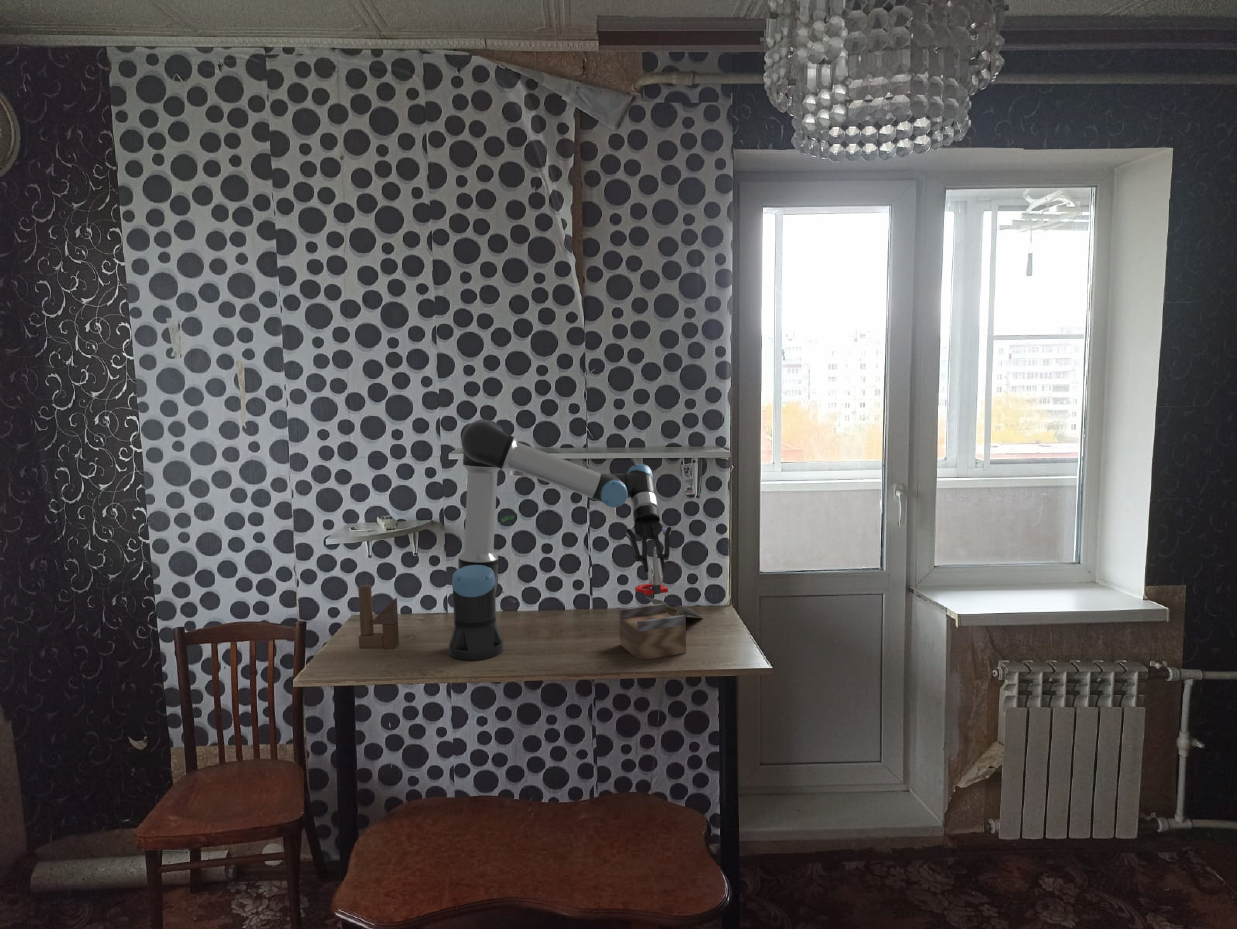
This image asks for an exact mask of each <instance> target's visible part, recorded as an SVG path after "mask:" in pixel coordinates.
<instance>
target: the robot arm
mask: <svg viewBox="0 0 1237 929" xmlns="http://www.w3.org/2000/svg"><path fill="white" fill-rule="evenodd" d="M461 435H462V437H461V448H462V450H463V455H462V456H463V457H462V466H463V467H464V468H465V469H466V470H467V478H466V479H467V481H466V482H467V483H466V485H467V486H466V500H465V502H466V504H465V505H466V506H465V526H464V529H465V530H464V547H463V548H464V550H463V551H462V552H461V553H460V554H459V555H458V566H457V569H456V570H455V571H454V573H453V574H452V581H451V587H452V599H453V602H452V603H453V604H452V605H453V623H454V624H453V625H454V626H453V629H452V634H451V638H450V640H449V644H448V655H449V656H450V657H452V658H453V659H456V660H457V659H458V660H462V661H463V660H464V661H465V660H466V661H476V660H477V661H478V660H484V659H485V660H486V659H489V658H493V657H495V656H499V655H500V654H501V653H502V652H503V651H504V640H503V636H502V635H501V633H500V632H501V631H500V629H499V626H498V624H497V608H496V603H497V602H496V593H497V587H498V583H499V573H498V572H499V570H498V569H499V556H498V555H497V554H496V553H495V551H494V548H495V547H494V546H495V531H496V530H495V527H496V510H497V508H496V507H497V506H496V505H497V488H498V486H497V485H498V473H499V471H500V470H504V469H507V468H508V469H511V470H513V471H517V472H519V473H522V474H525V475H528V476H530V477H533V478H535V479H538V480H541V481H544V482H546V483H549V484H553V485H555V486H557V487H559V488H563V489H565V490H568V491H570V492H571V491H572V492H574V493H576V494H579V495H582V496H584V497H588V498H590V499H591V500H595V501H598V502H600V503H603V504H604V505H605V506H607V507H610V508H619V507H622V505H624V504H625V503H626V502H627V499H631V508H632V516H633V522H634V523H633V524H634V525H633V527H632V528H626V532H625V536H626V538H628V540H629V544H630V546H631V549H632V552H633V557H634V560H635V561H636V562H641V564H642V569H643V572H644V573H647V578H648V584H653V569H652V564H651V559H650V558H648V540H651V541H652V544H653V546H654V547H656V555H657V568H658V578H659V584H663V580H664V575H663V572H665V568H666V566H665V561H668V560H669V559H670V553H671V552H670V536H671V532H672V527H671V526H668V527H665V526H663V523H662V522H661V517H660V512H659V506H658V505H659V504H658V500H657V494H656V493H657V492H656V486H655V479H654V476H653V472H652V469H651V468H650V466H648V465H647V464H642V463H638V464H636V465H632V466H630V467H629V469H628V471H627V472H625V473H600V472H598V471H594V470H592V469H590V468H588V467H585V466H582V465H579V464H576V463H574V462H571V461H569V460H566V459H563V458H561V457H558V456H555V455H552V454H550V453H549V452H548V453H547V452H545V451H542V450H539V449H538V448H534V447H531V446H529V445H527V444H524V443H520V442H518V440H517V439H516V437H515V436H513V435H510V434H507V433H505V432H504V430H503V427H502V426H501V425H500V424H498V423H497V422H496V421H494V420H490V419H485V418H484V419H478V420H475V421H473V422H471V423H470V425H468V426H467V427H466V428H465V430H464V431H463V433H462V434H461ZM661 532H662V535H663V536H664V538H663V540H664V541H663V545H664V546H663V547H664V548H663V549H662V546H661V542H660V539H659V536H660V535H661ZM635 534H636V535H638V537H640V538H641V553H640V549H639V546H638V542H637V540H636V536H635ZM654 547H653V548H654ZM663 552H664V553H663Z"/></svg>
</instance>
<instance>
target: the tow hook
mask: <svg viewBox="0 0 1237 929" xmlns="http://www.w3.org/2000/svg"><path fill="white" fill-rule="evenodd" d="M652 549H653V550H652V552H653V555H652V577H653V580H652V584H649V583H644V584H639V585H636V586H635V587H634V591H635V592H637V593H640V594H644V595H645V596H649V595H660V594H665V593H668V592H669V588H668V587H666V586H665V585H663V584H661V583H659V578H658V568H657V554H656V547H653V548H652ZM650 588H651V589H650Z"/></svg>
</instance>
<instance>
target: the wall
mask: <svg viewBox="0 0 1237 929" xmlns="http://www.w3.org/2000/svg"><path fill="white" fill-rule="evenodd" d="M645 598H646V599H647V600H648V601H649V602H651V603H652V605H654V604H661V603H665V604H666V613H668V614H669V615H671V616H679V615H685V616H686V618H687V617H688V616H692V617H694V618H697V619H699V618H700V619H702V620H703V619H704V618H703V617H702V616H701V615H700V614H698V613H697V612H696V611H695V610H694V609H692V608H690V607H687V606H683V605H680V604H676V605H675V607H673V606H670V605H668V604H667V603H666V602H665V601H663V600H661V599H657V598H653V597H648V596H645Z"/></svg>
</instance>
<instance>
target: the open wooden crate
mask: <svg viewBox="0 0 1237 929" xmlns="http://www.w3.org/2000/svg"><path fill="white" fill-rule="evenodd" d="M665 603H666V602H665ZM665 603H661V604H647V605H640V606H634V607H631V606H630V607H625V608H619V639H620V640H619V641H620V642H619V643H620V646H621V647H622V648H624V650H626V651H627V652H629V653H630V654H631V655H632V656H634V657H635V658H636V659H637V660H638V661H644V660H650V659H656V658H663V657H669V656H675V655H682V654H687V617H686V616H685V615H679V616H671V615H669V614H668V613H666V604H667V603H666V604H665Z"/></svg>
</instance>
